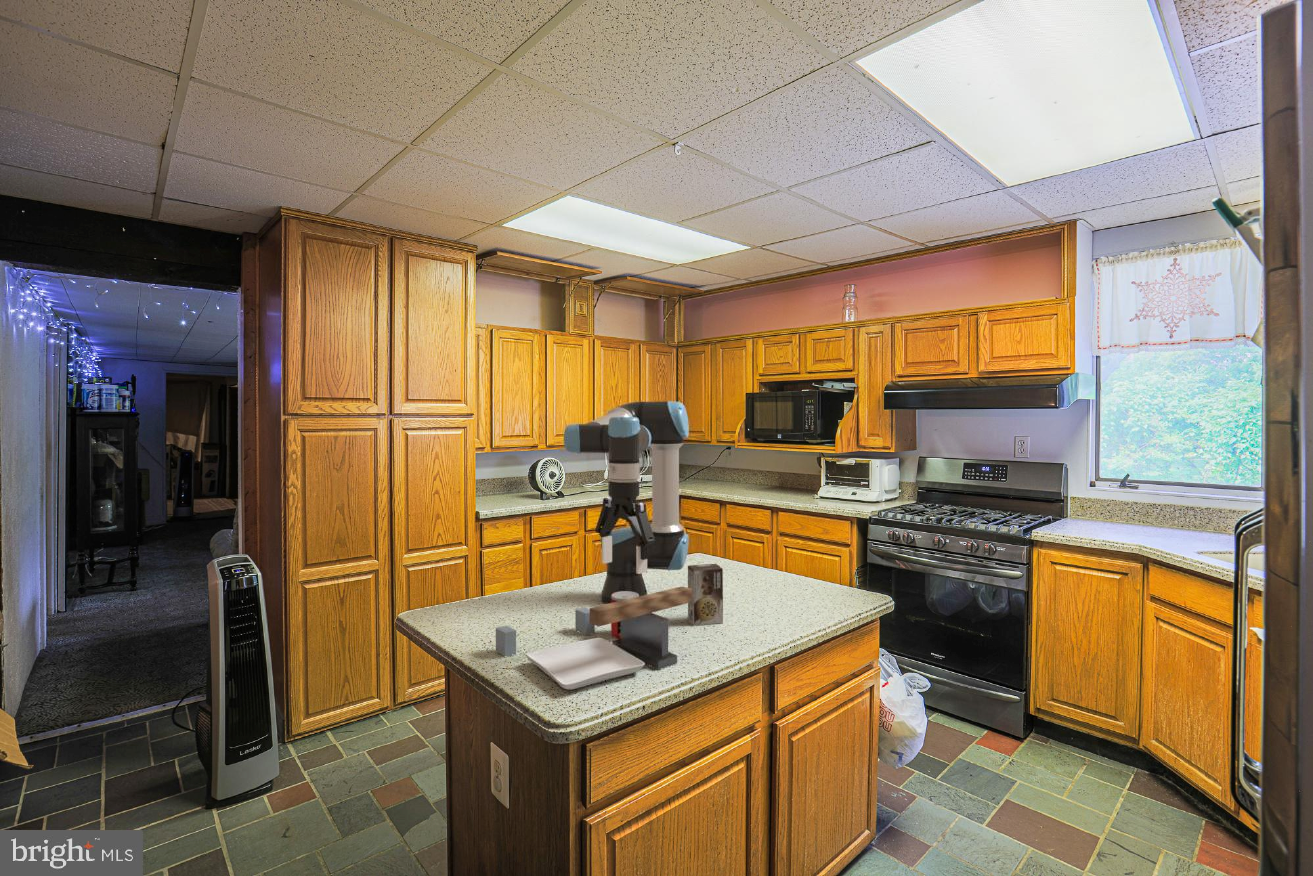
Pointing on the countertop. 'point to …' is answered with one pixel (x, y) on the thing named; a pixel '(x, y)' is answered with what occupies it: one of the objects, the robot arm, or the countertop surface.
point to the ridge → (647, 640)
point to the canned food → (615, 598)
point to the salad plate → (584, 662)
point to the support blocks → (508, 634)
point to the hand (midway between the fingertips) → (623, 567)
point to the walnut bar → (639, 606)
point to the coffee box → (705, 594)
